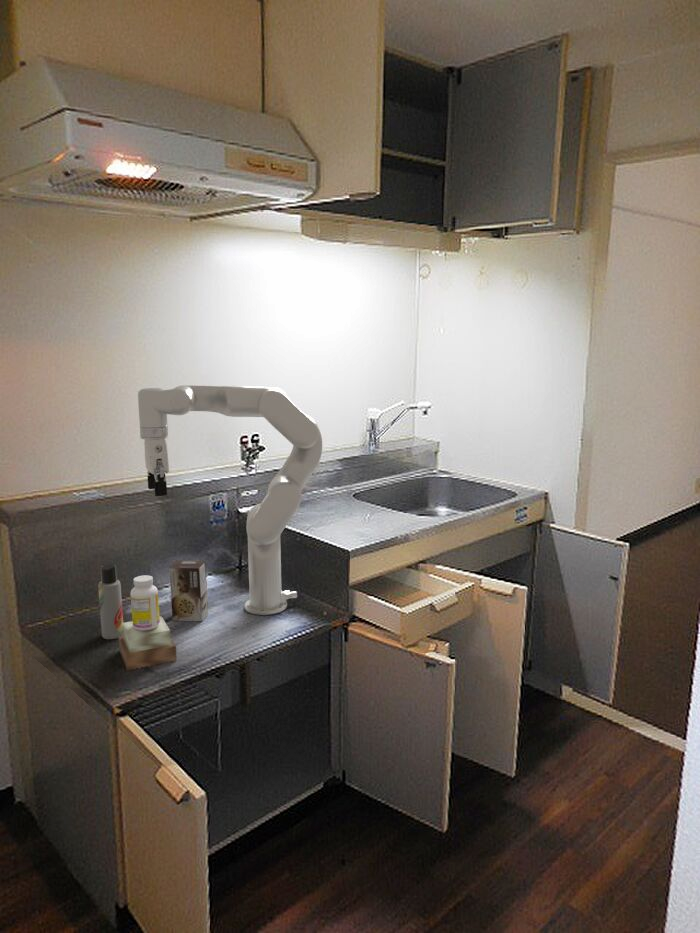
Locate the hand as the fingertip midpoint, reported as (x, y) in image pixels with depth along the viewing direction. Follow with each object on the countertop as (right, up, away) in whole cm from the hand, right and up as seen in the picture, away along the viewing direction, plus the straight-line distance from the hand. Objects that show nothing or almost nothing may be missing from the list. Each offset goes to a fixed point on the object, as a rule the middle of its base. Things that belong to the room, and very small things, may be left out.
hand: (157, 492), depth 206 cm
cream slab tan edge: (+3, -41, -21) cm, 46 cm away
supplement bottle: (+3, -33, -22) cm, 40 cm away
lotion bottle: (-10, -39, -9) cm, 41 cm away
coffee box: (+9, -37, +3) cm, 38 cm away
